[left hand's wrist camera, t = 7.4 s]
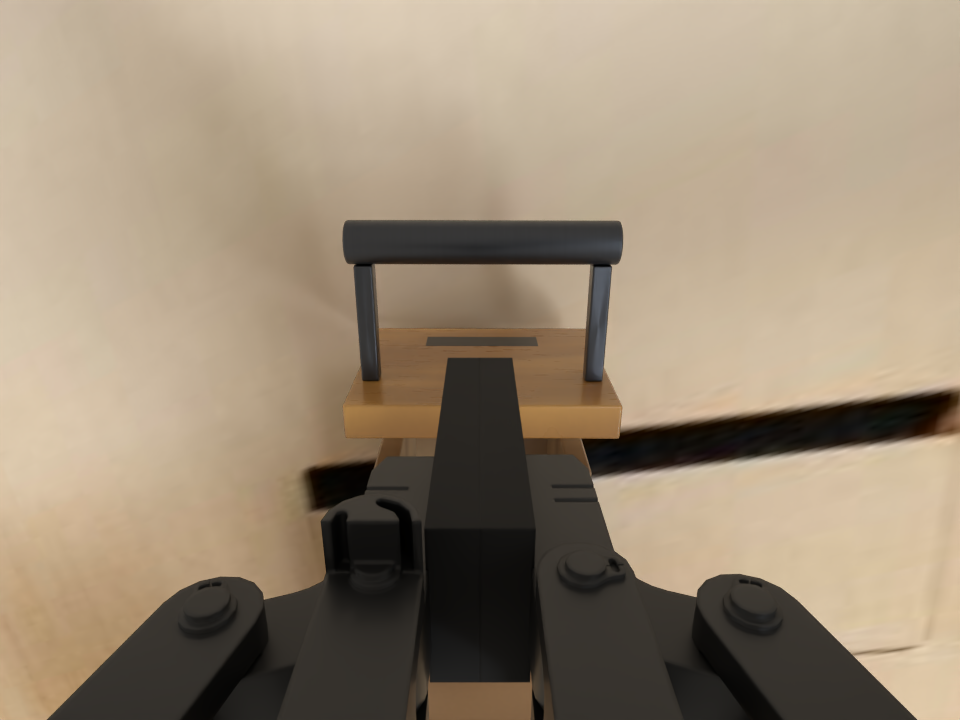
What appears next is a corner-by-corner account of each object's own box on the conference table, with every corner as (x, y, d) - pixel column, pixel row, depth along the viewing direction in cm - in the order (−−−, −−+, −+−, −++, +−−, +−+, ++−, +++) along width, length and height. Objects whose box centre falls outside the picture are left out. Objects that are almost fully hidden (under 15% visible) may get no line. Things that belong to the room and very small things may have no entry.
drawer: (369, 197, 24) (326, 233, 18) (595, 197, 24) (640, 234, 18) (399, 683, 34) (379, 827, 27) (561, 683, 34) (581, 827, 27)
